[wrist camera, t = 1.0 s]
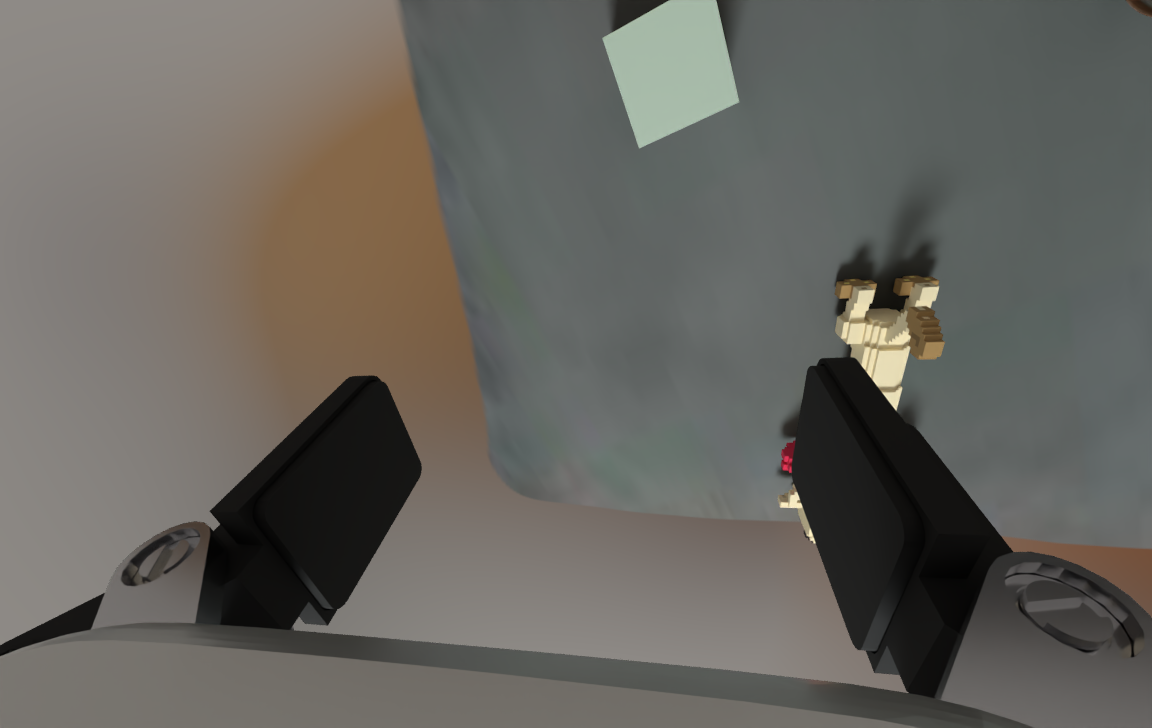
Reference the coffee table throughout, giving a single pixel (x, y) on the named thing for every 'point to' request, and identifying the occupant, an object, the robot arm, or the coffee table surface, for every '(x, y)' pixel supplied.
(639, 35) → the block
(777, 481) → the coffee table surface
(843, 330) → the cream elongated piece
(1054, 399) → the coffee table surface
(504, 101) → the coffee table surface
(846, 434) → the robot arm
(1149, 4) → the tin
